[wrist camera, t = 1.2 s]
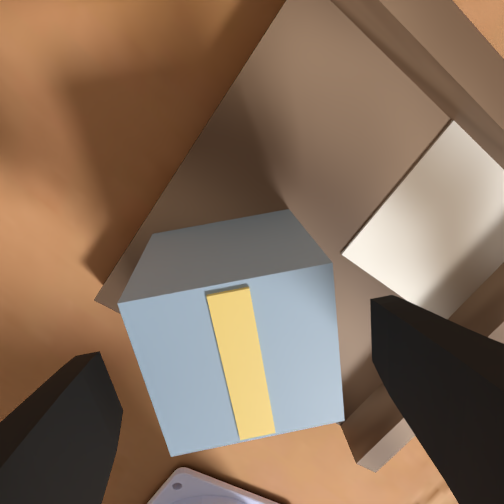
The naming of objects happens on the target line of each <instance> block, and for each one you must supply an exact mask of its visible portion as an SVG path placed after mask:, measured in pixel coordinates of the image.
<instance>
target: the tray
mask: <svg viewBox="0 0 504 504" xmlns="http://www.w3.org/2000/svg"><path fill="white" fill-rule="evenodd" d="M286 209H289V210H290V211H291V212H292V213H293V215H294V216H295V217H296V218H297V220H298V221H299V222H300V223H301V225H302V226H303V227H304V228H305V229H306V231H307V232H308V233H309V234H310V236H311V237H312V238H313V239H314V240H315V242H316V243H317V244H318V245H319V247H320V248H321V249H322V250H323V252H324V253H325V254H326V255H327V256H328V258H329V259H330V260H331V261H332V263H333V274H334V287H335V300H336V314H337V327H338V340H339V353H340V366H341V379H342V393H343V406H344V419H345V421H341V422H336V423H337V424H339V425H341V428H342V430H343V433H344V435H345V437H346V440H347V442H348V445H349V447H350V449H351V452H352V454H353V457H354V459H355V462H356V464H358V465H360V466H363V467H365V468H367V469H369V470H371V471H373V472H375V473H376V472H377V471H378V470H379V469H380V468H381V467H382V466H383V465H384V464H386V463H387V462H388V461H389V460H390V459H391V458H392V457H393V456H394V455H395V454H396V453H397V452H398V451H399V450H401V449H402V448H403V447H404V446H405V445H406V444H407V443H408V442H409V441H410V440H411V439H412V438H413V437H414V436H415V434H414V433H413V431H412V430H411V428H410V427H409V425H408V424H407V422H406V420H405V419H404V417H403V416H402V414H401V413H400V411H399V410H398V408H397V407H396V405H395V404H394V402H393V400H392V399H391V397H390V396H389V394H388V392H387V390H386V388H385V386H384V384H383V382H382V380H381V378H380V376H379V374H378V372H377V370H376V368H375V366H374V364H373V362H372V344H371V311H370V299H373V298H378V297H383V296H389V295H394V296H397V297H400V298H402V299H404V300H407V301H409V302H411V303H413V304H415V305H418V306H420V307H422V308H424V309H426V310H428V311H430V312H433V313H435V314H437V315H439V316H441V317H443V318H445V319H448V320H450V321H452V322H454V323H456V324H459V325H461V326H463V327H465V328H468V329H470V330H472V331H474V332H477V333H479V334H481V335H484V336H486V337H488V338H491V339H493V340H496V341H498V342H501V343H503V344H504V59H503V58H502V57H501V56H500V54H499V53H498V52H497V51H496V50H495V49H494V48H493V46H492V45H491V44H490V43H489V42H488V41H487V40H486V38H485V37H484V36H483V35H482V34H481V33H480V32H479V30H478V29H477V28H476V27H475V26H474V25H473V24H472V22H471V21H470V20H469V19H468V18H467V17H466V16H465V14H464V13H463V12H462V11H461V10H460V9H459V7H458V6H457V5H456V4H455V3H454V2H453V1H452V0H286V2H285V3H284V5H283V6H282V8H281V9H280V11H279V13H278V14H277V16H276V17H275V19H274V20H273V22H272V23H271V25H270V27H269V28H268V30H267V31H266V33H265V34H264V36H263V37H262V39H261V41H260V42H259V44H258V45H257V47H256V48H255V50H254V51H253V53H252V55H251V56H250V58H249V59H248V61H247V62H246V64H245V65H244V67H243V69H242V70H241V72H240V73H239V75H238V76H237V78H236V79H235V81H234V83H233V84H232V86H231V87H230V89H229V90H228V92H227V93H226V95H225V97H224V98H223V100H222V101H221V103H220V104H219V106H218V108H217V109H216V111H215V112H214V114H213V115H212V117H211V118H210V120H209V122H208V123H207V125H206V126H205V128H204V129H203V131H202V132H201V134H200V136H199V137H198V139H197V140H196V142H195V143H194V145H193V146H192V148H191V150H190V151H189V153H188V154H187V156H186V157H185V159H184V160H183V162H182V164H181V165H180V167H179V168H178V170H177V171H176V173H175V174H174V176H173V178H172V179H171V181H170V182H169V184H168V185H167V187H166V188H165V190H164V192H163V193H162V195H161V196H160V198H159V199H158V201H157V202H156V204H155V206H154V207H153V209H152V210H151V212H150V213H149V215H148V216H147V218H146V220H145V221H144V223H143V224H142V226H141V227H140V229H139V231H138V232H137V234H136V235H135V237H134V238H133V240H132V241H131V243H130V245H129V246H128V248H127V249H126V251H125V252H124V254H123V255H122V257H121V259H120V260H119V262H118V263H117V265H116V266H115V268H114V269H113V271H112V273H111V274H110V276H109V277H108V279H107V280H106V282H105V283H104V285H103V287H102V288H101V290H100V291H99V293H98V294H97V296H96V297H95V299H94V301H96V302H98V303H100V304H102V305H104V306H106V307H108V308H110V309H112V310H114V311H116V312H118V313H120V310H119V307H118V304H117V303H118V301H119V299H120V297H121V295H122V293H123V291H124V289H125V287H126V285H127V283H128V281H129V279H130V277H131V275H132V273H133V271H134V270H135V268H136V266H137V264H138V262H139V260H140V258H141V256H142V254H143V252H144V250H145V248H146V246H147V244H148V242H149V240H150V238H151V236H152V234H155V233H160V232H165V231H171V230H176V229H182V228H187V227H193V226H198V225H204V224H209V223H215V222H220V221H226V220H231V219H237V218H242V217H248V216H253V215H259V214H264V213H270V212H275V211H281V210H286ZM120 314H121V313H120Z"/></svg>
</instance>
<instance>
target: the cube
mask: <svg viewBox="0 0 504 504" xmlns="http://www.w3.org/2000/svg"><path fill="white" fill-rule="evenodd" d="M117 304H118V307H119V310H120V313H121V316H122V318H123V321H124V324H125V327H126V330H127V333H128V336H129V338H130V341H131V344H132V347H133V350H134V353H135V356H136V358H137V361H138V364H139V367H140V370H141V373H142V376H143V378H144V381H145V384H146V387H147V390H148V393H149V396H150V398H151V401H152V404H153V407H154V410H155V413H156V416H157V418H158V421H159V424H160V427H161V430H162V433H163V436H164V438H165V441H166V444H167V447H168V450H169V453H170V456H171V457H173V456H178V455H183V454H187V453H192V452H197V451H202V450H207V449H211V448H216V447H221V446H226V445H231V444H235V443H240V442H245V441H250V440H255V439H260V438H264V437H269V436H274V435H279V434H284V433H288V432H293V431H298V430H303V429H308V428H312V427H317V426H322V425H327V424H332V423H336V422H341V421H345V419H344V406H343V393H342V379H341V366H340V353H339V340H338V327H337V314H336V300H335V287H334V274H333V263H332V261H331V260H330V259H329V258H328V256H327V255H326V254H325V253H324V252H323V250H322V249H321V248H320V247H319V245H318V244H317V243H316V242H315V240H314V239H313V238H312V237H311V236H310V234H309V233H308V232H307V231H306V229H305V228H304V227H303V226H302V225H301V223H300V222H299V221H298V220H297V218H296V217H295V216H294V215H293V213H292V212H291V211H290V210H289V209H286V210H281V211H275V212H270V213H264V214H259V215H253V216H248V217H242V218H237V219H231V220H226V221H220V222H215V223H209V224H204V225H198V226H193V227H187V228H182V229H176V230H171V231H165V232H160V233H155V234H152V236H151V238H150V240H149V242H148V244H147V246H146V248H145V250H144V252H143V254H142V256H141V258H140V260H139V262H138V264H137V266H136V268H135V270H134V271H133V273H132V275H131V277H130V279H129V281H128V283H127V285H126V287H125V289H124V291H123V293H122V295H121V297H120V299H119V301H118V303H117Z"/></svg>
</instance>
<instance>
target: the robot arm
mask: <svg viewBox="0 0 504 504" xmlns="http://www.w3.org/2000/svg"><path fill="white" fill-rule="evenodd" d="M370 311H371V344H372V362H373V364H374V366H375V368H376V370H377V372H378V374H379V376H380V378H381V380H382V382H383V384H384V386H385V388H386V390H387V392H388V394H389V396H390V397H391V399H392V400H393V402H394V404H395V405H396V407H397V408H398V410H399V411H400V413H401V414H402V416H403V417H404V419H405V420H406V422H407V424H408V425H409V427H410V428H411V430H412V431H413V433H414V434H415V436H416V437H417V439H418V440H419V442H420V443H421V445H422V446H423V448H424V449H425V451H426V452H427V454H428V455H429V457H430V458H431V460H432V461H433V463H434V464H435V466H436V467H437V469H438V471H439V472H440V474H441V475H442V477H443V478H444V480H445V481H446V483H447V485H448V486H449V488H450V490H451V491H452V493H453V495H454V496H455V498H456V500H457V501H458V503H459V504H504V344H503V343H501V342H498V341H496V340H493V339H491V338H488V337H486V336H484V335H481V334H479V333H477V332H474V331H472V330H470V329H468V328H465V327H463V326H461V325H459V324H456V323H454V322H452V321H450V320H448V319H445V318H443V317H441V316H439V315H437V314H435V313H433V312H430V311H428V310H426V309H424V308H422V307H420V306H418V305H415V304H413V303H411V302H409V301H407V300H404V299H402V298H400V297H397V296H394V295H389V296H383V297H378V298H373V299H370ZM122 414H123V409H122V406H121V404H120V401H119V399H118V396H117V394H116V391H115V389H114V386H113V384H112V381H111V379H110V376H109V374H108V371H107V369H106V366H105V364H104V361H103V359H102V356H101V354H100V351H99V352H94V353H89V354H84V355H79V356H75V357H74V358H73V359H71V360H70V361H69V362H68V363H66V364H65V365H64V366H63V367H62V368H61V369H59V370H58V371H57V372H56V373H55V374H54V375H53V376H51V377H50V378H49V379H48V380H47V381H46V382H45V383H44V384H43V385H41V386H40V387H39V388H38V389H37V390H36V391H35V392H34V393H33V394H31V395H30V396H29V397H28V398H27V399H26V400H25V401H24V402H23V403H21V404H20V405H19V406H18V407H17V408H16V409H15V410H14V411H13V412H11V413H10V414H9V415H8V416H7V417H6V418H5V419H4V420H3V421H1V422H0V504H101V503H102V500H103V496H104V493H105V490H106V486H107V483H108V479H109V476H110V472H111V469H112V465H113V462H114V458H115V455H116V451H117V446H118V440H119V434H120V428H121V421H122ZM147 504H279V503H276V502H274V501H271V500H269V499H266V498H264V497H261V496H259V495H256V494H253V493H251V492H248V491H246V490H243V489H241V488H238V487H235V486H233V485H230V484H228V483H225V482H223V481H220V480H218V479H215V478H212V477H210V476H207V475H205V474H202V473H200V472H197V471H194V470H192V469H189V468H186V467H181V468H178V469H176V470H175V471H174V472H173V473H172V475H171V476H170V477H169V478H168V479H167V480H166V482H165V483H164V484H163V485H162V486H161V488H160V489H159V490H158V491H157V492H156V493H155V495H154V496H153V497H152V498H151V499H150V500H149V502H148V503H147Z"/></svg>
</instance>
